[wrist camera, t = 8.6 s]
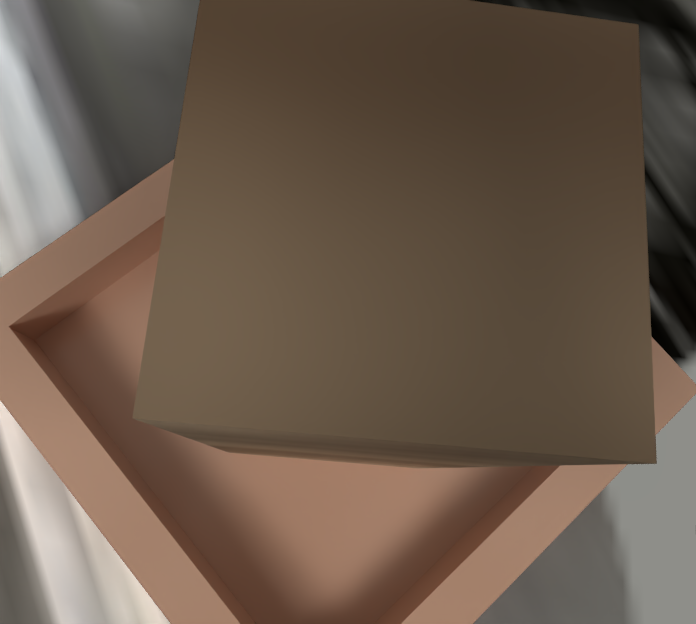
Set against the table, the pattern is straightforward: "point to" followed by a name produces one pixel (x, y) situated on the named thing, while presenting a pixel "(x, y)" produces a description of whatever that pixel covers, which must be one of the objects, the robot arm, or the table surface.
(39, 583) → the table surface
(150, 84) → the table surface
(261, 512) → the terracotta dish
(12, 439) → the table surface
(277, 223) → the walnut block
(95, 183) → the table surface
